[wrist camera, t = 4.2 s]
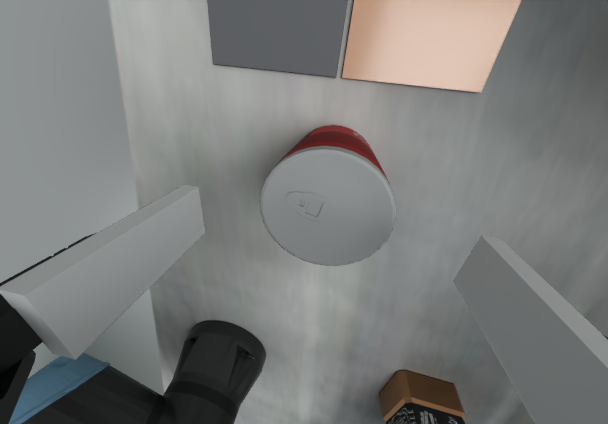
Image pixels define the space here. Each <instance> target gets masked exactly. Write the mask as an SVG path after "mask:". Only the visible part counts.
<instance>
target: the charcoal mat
mask: <svg viewBox="0 0 608 424" xmlns="http://www.w3.org/2000/svg"><path fill="white" fill-rule="evenodd" d="M347 1H348V0H208V12H209V24H210V36H211V47H212V59H213V64H217V65H226V66H235V67H244V68H254V69H263V70H272V71H282V72H291V73H300V74H309V75H319V76H328V77H336V75H337V69H338V62H339V55H340V48H341V42H342V35H343V28H344V21H345V14H346V8H347Z"/></svg>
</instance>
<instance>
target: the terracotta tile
mask: <svg viewBox="0 0 608 424" xmlns="http://www.w3.org/2000/svg"><path fill="white" fill-rule="evenodd" d="M520 2H521V0H354V5H353V11H352V18H351V24H350V30H349V37H348V43H347V49H346V55H345V62H344V68H343V74H342V78H347V79H356V80H365V81H374V82H384V83H393V84H402V85H411V86H421V87H430V88H439V89H449V90H458V91H467V92H476V93H481V91H482V89H483V87H484V84H485V82H486V80H487V78H488V75H489V73H490V71H491V68H492V66H493V64H494V62H495V59H496V57H497V55H498V52H499V50H500V48H501V46H502V43H503V41H504V39H505V36H506V34H507V32H508V30H509V27H510V25H511V23H512V20H513V18H514V16H515V14H516V11H517V9H518V7H519V4H520Z"/></svg>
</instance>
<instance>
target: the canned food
mask: <svg viewBox="0 0 608 424" xmlns="http://www.w3.org/2000/svg"><path fill="white" fill-rule="evenodd" d="M260 209H261V215H262V218H263V222H264V224H265V226H266V228H267V230H268V232H269V233H270V235H271V236H272V237H273V239H274V240H275V241H276V242H277V243H278V244H279V245H280V246H281V247H282V248H283V249H285V250H286V251H287V252H289V253H290V254H292V255H293V256H296V257H298V258H300V259H302V260H304V261H307V262H311V263H314V264H319V265H326V266H339V265H347V264H351V263H355V262H358V261H361V260H363V259H365V258H367V257H369V256H371V255H372V254H373V253H375V252H376V251H377V250H379V249H380V248H381V246H382V245H383V244H384V243H385V242H386V241H387V239H388V237H389V236H390V234H391V232H392V230H393V226H394V223H395V219H396V205H395V200H394V195H393V191H392V189H391V186H390V184H389V182H388V180H387V178H386V176H385V173H384V171H383V170H382V168H381V166H380V164H379V162H378V160H377V159H376V157H375V155H374V153H373V151H372V149H371V148H370V146H369V144H368V143H367V142H366V140H365V139H364V138H363V137H362V136H361V135H359V134H358V133H357V132H355V131H353V130H351V129H349V128H346V127H343V126H334V125H332V126H324V127H321V128H318V129H315V130H314V131H312V132H310V133H309V134H308V135H306V136H305V137H304V138H303V139H302V140H301V141H300V142H299V143H298V144H297V145H296V146H295V147H294V148H293V149H292V150H291V151H290V152H289V153H287V154H286V155H285V156H284V157H283V158H282V159H281V160H280V161H279V163H278V164H277V165H276V166H275V167H274V168H273V170H272V171H271V173H270V174H269V175H268V177H267V179H266V181H265V183H264V186H263V188H262V192H261V198H260Z"/></svg>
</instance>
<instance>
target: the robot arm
mask: <svg viewBox="0 0 608 424" xmlns="http://www.w3.org/2000/svg"><path fill="white" fill-rule="evenodd" d="M204 234H205V227H204V220H203V214H202V207H201V201H200V194H199V188H198V187H194V186H189V185H183V186H181V187H179V188H177V189H175V190H174V191H172V192H170V193H168V194H166V195H165V196H163V197H161V198H159V199H157V200H156V201H154V202H152V203H150V204H148V205H147V206H145V207H143V208H141V209H139V210H138V211H136V212H134V213H132V214H131V215H129V216H127V217H125V218H123V219H121V220H120V221H118V222H116V223H114V224H112V225H110V226H109V227H107V228H105V229H103V230H101V231H100V232H98V233H95V234H92V235H89V236H87V237H84V238H82V239H81V240H79V241H77V242H75V243H74V244H71V245H70V246H69V247H68V248H64V249H62V250H60V251H59V252H57V253H55V254H54V256H49V257H48V258H46V259H44V260H42V261H40V262H39V263H37V264H35V265H33V266H31V267H29V268H27V269H26V270H24V271H22V272H20V273H18V274H16V275H15V276H13V277H11V278H9V279H7V280H5V281H3V282H2V283H0V424H234V421H235V418H236V415H237V413H238V410H239V407H240V405H241V403H242V402H243V400H244V399H245V397H246V395H247V394H248V392H249V391H250V389H251V388H252V386H253V384H254V383H255V381H256V380H257V378H258V376H259V375H260V373H261V371H262V368H263V365H264V362H265V358H266V353H265V350H264V347H263V346H262V344H261V343H260V342H259V341H258V340H257V339H256V338H255V337H254V336H253V335H251V334H250V333H249V332H247V331H245V330H244V329H242V328H239V327H237V326H235V325H232V324H229V323H225V322H219V321H206V322H202V323H199V324H197V325H196V326H194V328H193V329H192V330H191V332H190V334H189V335H188V337H187V338H186V340H185V342H184V346H183V349H182V352H181V355H180V358H179V361H178V365H177V368H176V371H175V374H174V377H173V380H172V381H171V383H170V385H169V386H168V388H167V390H166V391H165V393H164V395H163V396H162V395H160V394H158V393H157V392H155V391H153V390H151V389H150V388H148V387H146V386H144V385H143V384H141V383H139V382H138V381H136V380H134V379H132V378H130V377H129V376H127V375H125V374H124V373H122V372H120V371H118V370H117V369H115V368H113V367H111V366H110V363H108V362H102V361H100V360H98V359H96V358H94V357H92V356H90V355H88V354H86V353H83V352H84V351H85V350H86V349H87V348H88V347H89V346H90V345H91V344H92V343H93V342H94V341H95V340H96V339H97V338H98V337H99V336H100V335H101V334H102V333H103V332H104V331H105V330H106V329H107V328H109V327H110V326H111V325H112V324H113V323H114V322H115V321H116V320H117V319H118V318H119V317H120V316H121V315H122V314H123V313H124V312H125V311H126V310H127V309H128V308H129V307H130V306H131V305H132V304H133V303H134V302H135V301H136V300H137V299H138V298H139V297H140V296H141V295H142V294H143V293H144V292H145V291H146V290H147V289H148V288H149V287H151V286H152V285H153V284H154V283H155V282H156V281H157V280H158V279H159V278H160V277H161V276H162V275H163V274H164V273H165V272H166V271H167V270H168V269H169V268H170V267H171V266H172V265H173V264H174V263H175V262H176V261H177V260H178V259H179V258H180V257H181V256H182V255H183V254H184V253H185V252H186V251H187V250H188V249H189V248H190V247H191V246H192V245H193V244H195V243H196V242H197V241H198V240H199V239H200V238H201V237H202V236H203V235H204ZM453 281H454V283H455V285H456V286H457V288H458V290H459V292H460V293H461V295H462V297H463V299H464V300H465V302H466V304H467V306H468V307H469V309H470V311H471V313H472V314H473V316H474V318H475V320H476V322H477V323H478V325H479V327H480V329H481V330H482V332H483V334H484V336H485V337H486V339H487V341H488V343H489V344H490V346H491V348H492V350H493V351H494V353H495V355H496V357H497V358H498V360H499V362H500V364H501V365H502V367H503V369H504V371H505V372H506V374H507V376H508V378H509V379H510V381H511V383H512V385H513V386H514V388H515V390H516V392H517V393H518V395H519V397H520V399H521V400H522V402H523V404H524V406H525V407H526V409H527V411H528V413H529V414H530V416H531V418H532V420H533V421H534V423H535V424H608V338H607V337H606V336H604V335H603V334H601V333H600V332H599V331H598V330H597V329H596V328H595V327H594V326H593V325H592V324H591V323H589V322H588V321H587V320H586V319H585V318H584V317H583V316H582V315H581V314H580V313H579V312H578V311H577V310H576V309H575V308H574V307H572V306H571V305H570V304H569V303H568V302H567V301H566V300H565V299H564V298H563V297H562V296H561V295H560V294H559V293H558V292H557V291H555V290H554V289H553V288H552V287H551V286H550V285H549V284H548V283H547V282H546V281H545V280H544V279H543V278H542V277H541V276H540V275H538V274H537V273H536V272H535V271H534V270H533V269H532V268H531V267H530V266H529V265H528V264H527V263H526V262H525V261H524V260H522V259H521V258H520V257H519V256H518V255H517V254H516V253H515V252H514V251H513V250H512V249H511V248H510V247H509V246H508V245H507V244H505V243H504V242H503V241H502V240H501V239H499V238H493V237H487V236H481V237H480V239H479V240H478V242H477V243H476V245H475V247H474V248H473V250H472V251H471V253H470V255H469V256H468V258H467V259H466V261H465V263H464V264H463V266H462V268H461V269H460V271H459V272H458V274H457V276H456V277H455V279H454V280H453ZM42 342H43V343H44V344H45V345H46V346H47V347H48V348H49V350H50V351H51V352H52V353H53V354H57V355H60V356H61V357H59V358H57V359H55V360H54V361H52V362H51V363H49V364H48V365H46V366H45V367H44V368H42V369H41V370H39V371H38V372H37V373H35V374H34V375H32V376H31V377H30V378H28V376H29V373H30V371H31V369H32V366H33V364H34V361H35V356H36V353H35V352H34V351H33V349H34V348H36V347H37V346H38V345H39V344H41V343H42ZM27 378H28V379H27Z"/></svg>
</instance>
